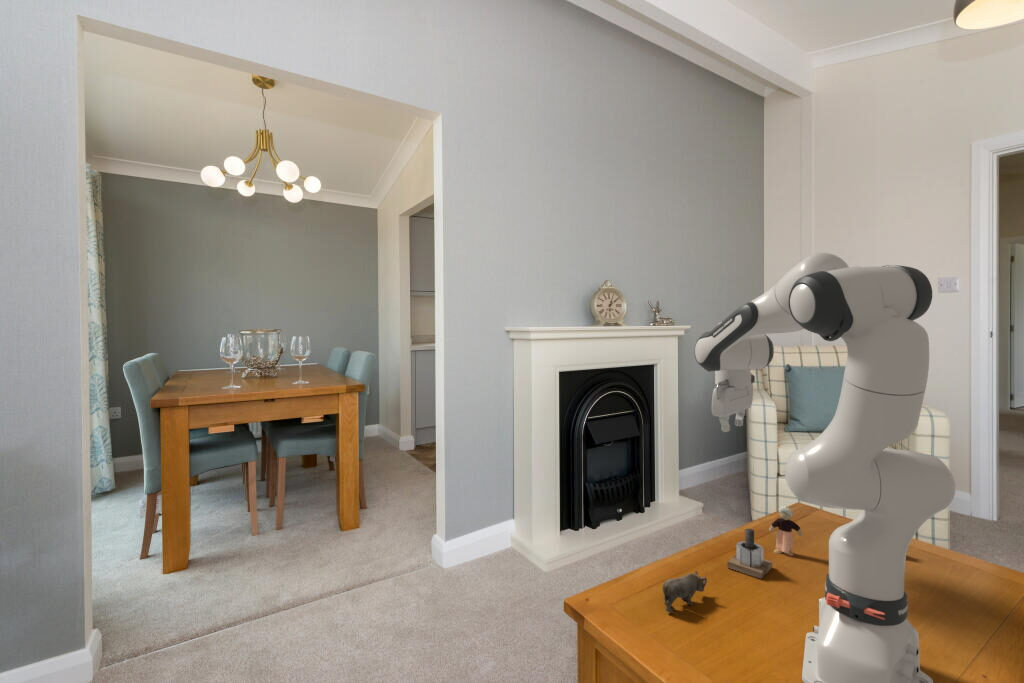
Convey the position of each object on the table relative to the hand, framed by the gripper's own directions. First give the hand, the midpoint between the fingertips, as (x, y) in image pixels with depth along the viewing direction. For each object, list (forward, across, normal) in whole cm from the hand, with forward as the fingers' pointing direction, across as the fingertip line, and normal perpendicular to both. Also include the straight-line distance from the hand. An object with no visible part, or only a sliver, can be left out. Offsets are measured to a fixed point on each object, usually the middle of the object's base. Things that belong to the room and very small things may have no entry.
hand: (732, 428), depth 132 cm
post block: (+33, -9, -8) cm, 35 cm away
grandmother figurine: (+33, +6, -12) cm, 36 cm away
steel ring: (+31, -9, -8) cm, 33 cm away
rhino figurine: (+33, -35, -3) cm, 48 cm away
